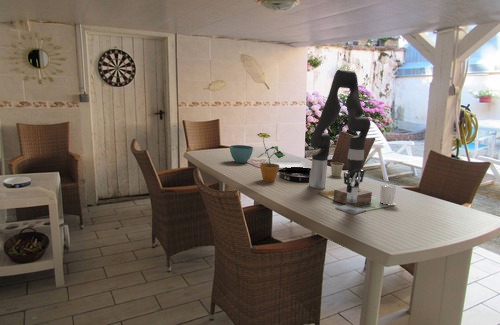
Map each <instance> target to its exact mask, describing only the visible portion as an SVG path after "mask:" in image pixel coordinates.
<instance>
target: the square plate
mask: <svg viewBox="0 0 500 325" xmlns="http://www.w3.org/2000/svg"><path fill="white" fill-rule="evenodd" d="M267 163H269V159H268V160H267ZM270 163H272V164H277V165H279V169H278V172H280V171H279V170H280V169H283V168H285V167H287V168H291V167H303V168H309V167H308V166H307V164H306V163H304V162H303V161H302V160H289V159H288V160H287V159H286V160H285V159H283V160H282V159H277V160H276V159H273V160H272V159H271V160H270Z"/></svg>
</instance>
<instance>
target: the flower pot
mask: <svg viewBox="0 0 500 325" xmlns="http://www.w3.org/2000/svg"><path fill="white" fill-rule="evenodd" d="M344 165H345V163H343V162H337V161H335V162H333V161H332V162H330V172H331V176H333V177H341V176H342V171H343V167H344Z"/></svg>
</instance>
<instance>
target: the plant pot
mask: <svg viewBox="0 0 500 325" xmlns="http://www.w3.org/2000/svg"><path fill="white" fill-rule="evenodd" d="M229 150H230V155H231V158H232V160H234V162H235V163H237V164H245V163H247V162H248V161H249V160H250V158H251V157H252V154H253V152H254V147H253V146H250V145H245V144H244V145H242V144H234V145H230V146H229Z"/></svg>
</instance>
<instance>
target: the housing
mask: <svg viewBox="0 0 500 325" xmlns="http://www.w3.org/2000/svg"><path fill="white" fill-rule="evenodd" d="M372 193H373V192H372V191H368V190H365V189H363V188H359V189H358V195H357V202H356V203H350V202H347V186H345V187H339V188H335V189H333V198H332V199H333V202H338V203H341V202H343V203H342V204H344V203H346V204H349V205H353V206H357V207H359V206H358V205H361V206H363V205H362V204H365V203H369V202H371V203H372V196H373V194H372ZM346 204H345V205H346ZM369 204H370V203H369ZM365 205H366V204H365Z"/></svg>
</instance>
